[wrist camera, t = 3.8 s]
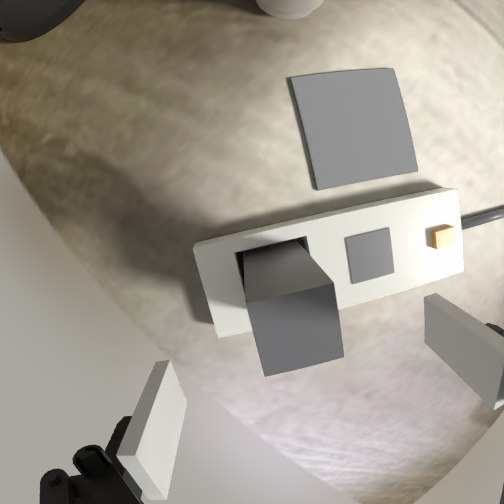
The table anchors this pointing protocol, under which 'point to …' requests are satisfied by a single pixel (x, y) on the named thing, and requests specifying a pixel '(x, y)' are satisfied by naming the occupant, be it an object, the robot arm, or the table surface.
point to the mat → (354, 126)
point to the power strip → (348, 251)
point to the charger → (291, 308)
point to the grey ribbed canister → (289, 8)
